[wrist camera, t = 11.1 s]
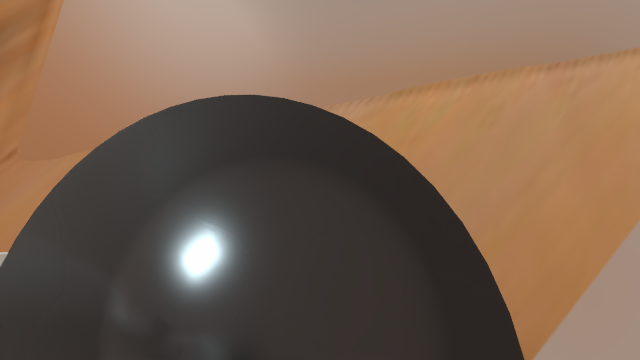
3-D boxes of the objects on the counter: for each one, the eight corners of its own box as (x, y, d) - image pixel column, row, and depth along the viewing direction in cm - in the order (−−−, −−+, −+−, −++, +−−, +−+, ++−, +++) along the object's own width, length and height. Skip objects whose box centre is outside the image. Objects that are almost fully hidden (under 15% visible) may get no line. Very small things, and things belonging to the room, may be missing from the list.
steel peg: (323, 324, 17) (-112, 836, 2) (306, 235, 19) (-8, 169, 4) (413, 307, 16) (765, 981, 1) (387, 216, 18) (400, 27, 3)
